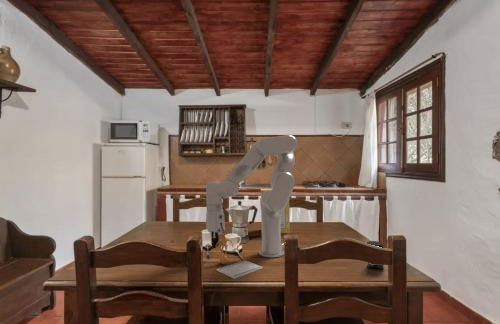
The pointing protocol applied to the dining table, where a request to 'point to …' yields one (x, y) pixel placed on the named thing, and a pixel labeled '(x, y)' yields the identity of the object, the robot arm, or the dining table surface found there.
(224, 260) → the figurine
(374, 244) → the supplement container
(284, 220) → the pasta box
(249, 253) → the dining table surface
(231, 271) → the mat
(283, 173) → the robot arm
